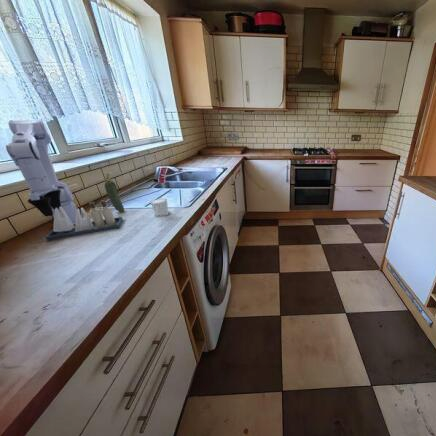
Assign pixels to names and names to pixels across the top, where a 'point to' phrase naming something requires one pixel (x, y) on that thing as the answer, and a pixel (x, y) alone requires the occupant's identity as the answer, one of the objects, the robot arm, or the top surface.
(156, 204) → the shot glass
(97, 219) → the bottle
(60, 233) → the tray
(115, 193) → the vegetable
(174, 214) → the top surface
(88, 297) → the top surface
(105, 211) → the bottle
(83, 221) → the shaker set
